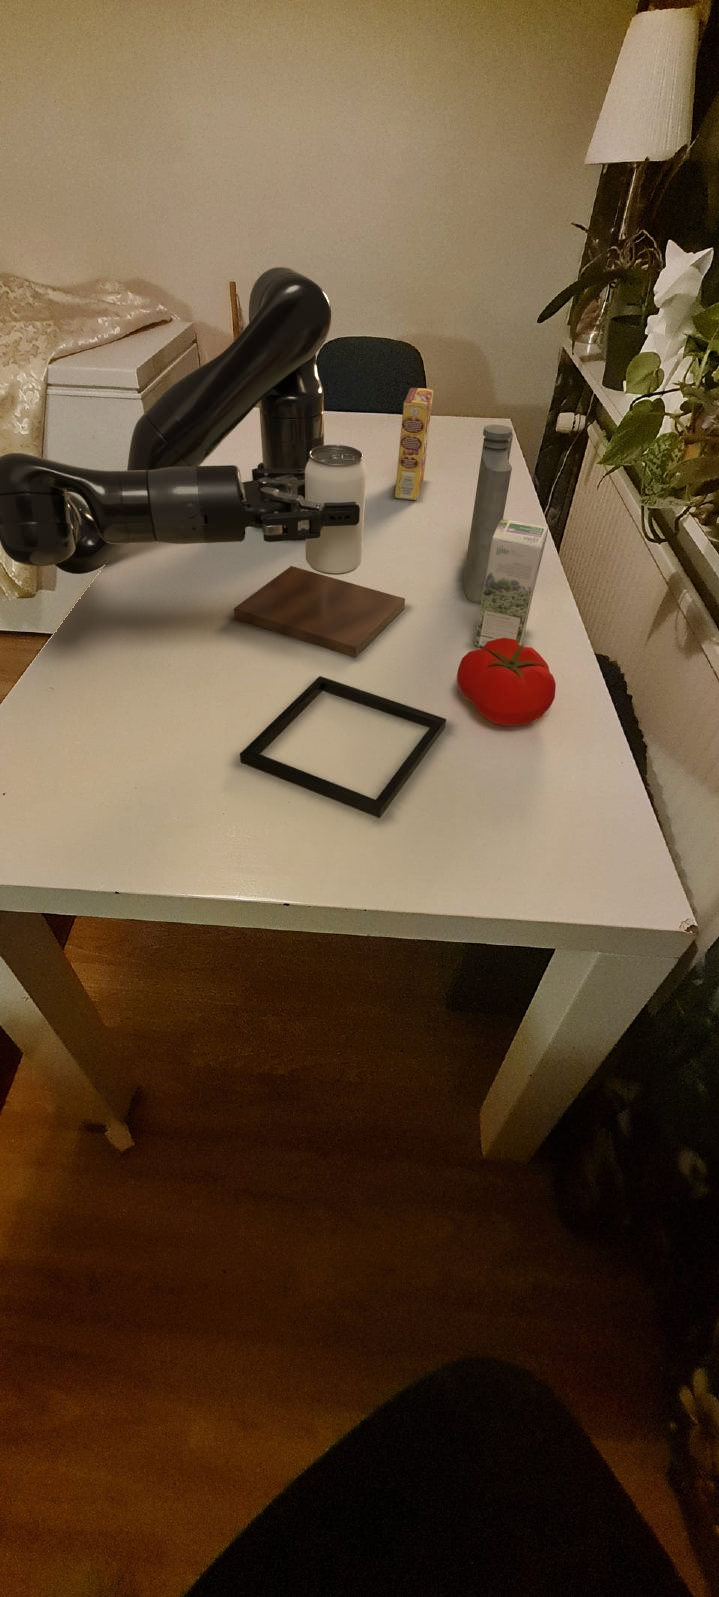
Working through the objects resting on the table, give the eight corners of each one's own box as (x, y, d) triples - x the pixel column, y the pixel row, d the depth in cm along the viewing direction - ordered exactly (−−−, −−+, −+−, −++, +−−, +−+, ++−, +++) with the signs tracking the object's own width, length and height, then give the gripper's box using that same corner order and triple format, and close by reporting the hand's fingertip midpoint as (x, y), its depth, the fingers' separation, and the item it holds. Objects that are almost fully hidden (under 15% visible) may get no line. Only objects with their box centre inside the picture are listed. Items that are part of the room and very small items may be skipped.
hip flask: (488, 604, 97) (515, 450, 83) (459, 600, 98) (481, 447, 84) (492, 553, 109) (516, 410, 95) (465, 550, 109) (486, 407, 95)
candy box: (418, 501, 122) (427, 403, 111) (394, 498, 123) (400, 401, 112) (425, 482, 128) (434, 388, 118) (401, 480, 129) (408, 386, 118)
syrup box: (525, 633, 92) (550, 523, 82) (517, 657, 88) (542, 544, 78) (482, 624, 93) (501, 515, 83) (472, 647, 89) (491, 535, 79)
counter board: (234, 618, 92) (233, 608, 91) (291, 575, 101) (291, 565, 100) (355, 657, 87) (355, 647, 86) (404, 608, 96) (405, 598, 95)
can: (304, 549, 84) (303, 442, 75) (358, 549, 84) (363, 442, 76) (306, 576, 79) (306, 465, 71) (364, 576, 80) (370, 466, 71)
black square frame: (240, 762, 72) (239, 753, 71) (319, 683, 83) (319, 675, 82) (379, 818, 67) (380, 809, 66) (445, 727, 77) (446, 718, 77)
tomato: (489, 744, 76) (500, 694, 71) (441, 687, 83) (448, 639, 78) (565, 723, 79) (580, 674, 74) (512, 671, 86) (522, 623, 81)
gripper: (199, 512, 82) (341, 507, 85) (203, 570, 72) (364, 562, 75) (191, 444, 77) (342, 441, 79) (194, 495, 67) (367, 490, 69)
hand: (352, 500), depth 77 cm, fingers closed on can, 6 cm apart
